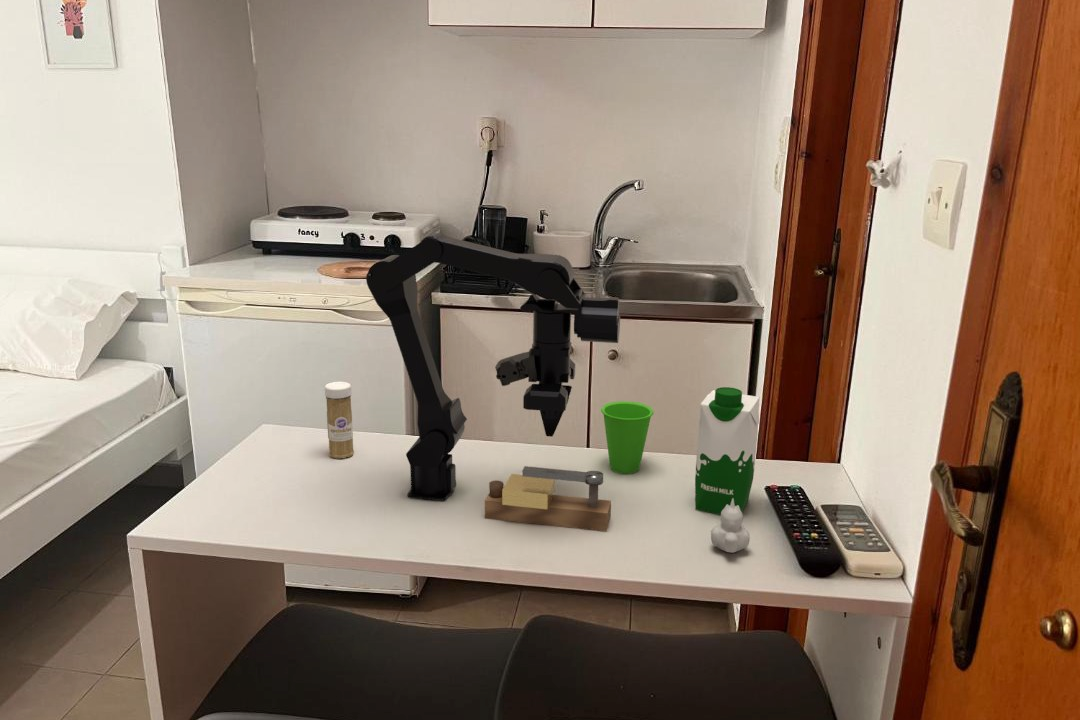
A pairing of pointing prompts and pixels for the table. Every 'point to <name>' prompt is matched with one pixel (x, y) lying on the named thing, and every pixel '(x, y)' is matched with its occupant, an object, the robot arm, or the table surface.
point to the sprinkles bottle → (339, 419)
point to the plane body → (553, 510)
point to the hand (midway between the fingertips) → (550, 434)
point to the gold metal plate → (528, 492)
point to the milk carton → (726, 449)
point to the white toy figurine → (730, 530)
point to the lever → (564, 475)
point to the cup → (626, 434)
